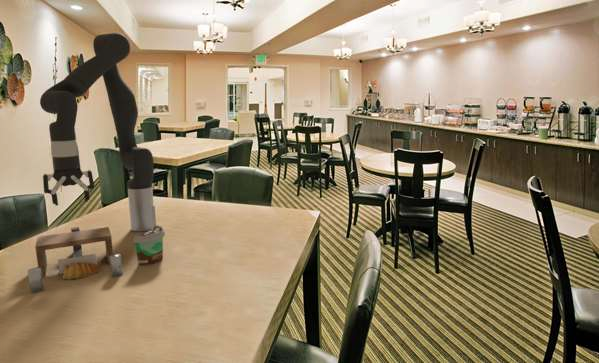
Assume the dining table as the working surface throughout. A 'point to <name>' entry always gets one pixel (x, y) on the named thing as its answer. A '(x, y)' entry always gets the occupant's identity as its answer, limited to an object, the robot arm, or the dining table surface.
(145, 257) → the food container
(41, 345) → the dining table surface
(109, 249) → the low shelf
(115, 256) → the goal posts
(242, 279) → the dining table surface
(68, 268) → the pastry
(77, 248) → the scraper
